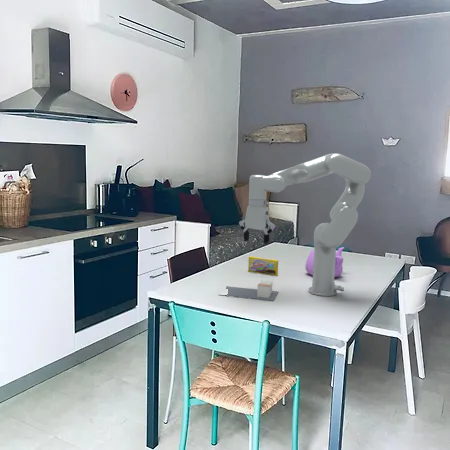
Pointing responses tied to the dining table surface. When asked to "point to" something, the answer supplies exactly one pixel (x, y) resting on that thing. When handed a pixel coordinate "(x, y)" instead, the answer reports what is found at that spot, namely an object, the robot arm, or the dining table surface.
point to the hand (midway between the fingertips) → (256, 242)
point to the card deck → (264, 289)
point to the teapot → (337, 263)
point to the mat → (249, 293)
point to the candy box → (263, 266)
